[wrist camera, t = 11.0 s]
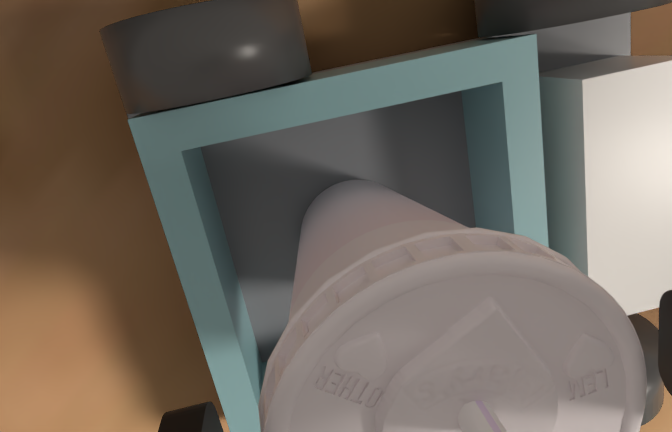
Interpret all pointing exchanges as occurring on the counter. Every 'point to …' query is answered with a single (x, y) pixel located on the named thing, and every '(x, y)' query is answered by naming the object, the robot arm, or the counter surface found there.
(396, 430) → the smoothie
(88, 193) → the counter surface
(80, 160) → the counter surface
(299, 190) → the chassis
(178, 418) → the robot arm
